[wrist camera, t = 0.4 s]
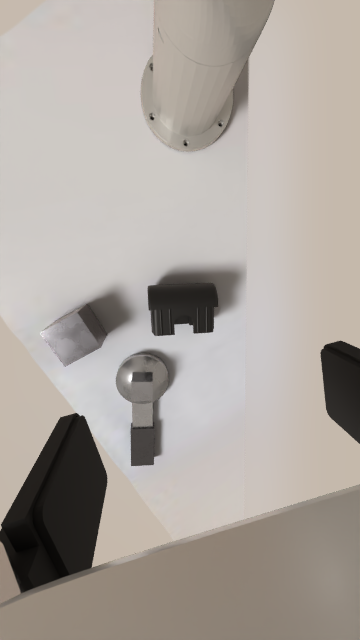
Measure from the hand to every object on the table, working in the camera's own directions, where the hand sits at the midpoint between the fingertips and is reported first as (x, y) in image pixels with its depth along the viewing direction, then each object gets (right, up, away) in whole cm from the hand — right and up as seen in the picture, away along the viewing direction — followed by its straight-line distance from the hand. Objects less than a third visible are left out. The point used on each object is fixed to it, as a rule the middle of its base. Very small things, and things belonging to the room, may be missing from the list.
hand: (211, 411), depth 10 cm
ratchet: (-8, -13, +38) cm, 41 cm away
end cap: (-1, +6, +34) cm, 35 cm away
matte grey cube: (-17, +2, +33) cm, 37 cm away
